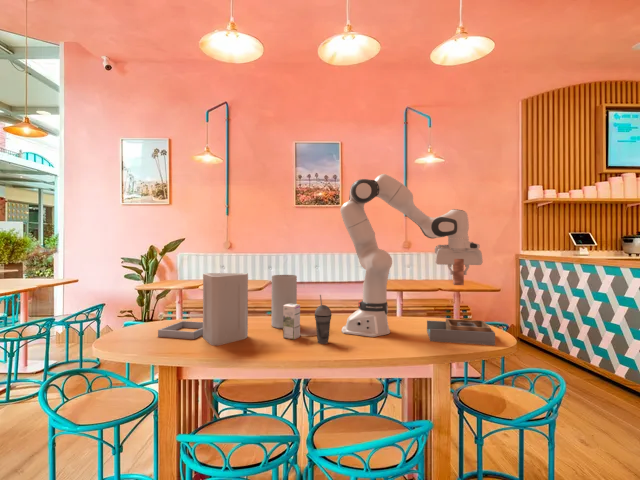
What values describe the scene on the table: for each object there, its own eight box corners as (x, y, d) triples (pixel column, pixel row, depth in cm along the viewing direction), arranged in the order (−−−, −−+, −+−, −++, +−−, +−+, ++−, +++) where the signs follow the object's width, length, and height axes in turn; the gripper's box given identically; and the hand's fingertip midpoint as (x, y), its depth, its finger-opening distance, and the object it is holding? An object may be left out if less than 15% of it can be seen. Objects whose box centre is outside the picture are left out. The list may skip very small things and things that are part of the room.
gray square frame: (158, 336, 152) (158, 329, 152) (182, 326, 170) (182, 320, 170) (193, 339, 149) (193, 332, 149) (214, 329, 166) (214, 322, 166)
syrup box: (300, 336, 154) (300, 303, 154) (294, 339, 148) (294, 306, 148) (289, 334, 156) (289, 302, 156) (282, 338, 151) (282, 305, 151)
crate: (450, 338, 147) (450, 326, 147) (445, 330, 161) (445, 318, 161) (490, 341, 143) (490, 328, 143) (482, 332, 157) (482, 320, 157)
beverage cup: (330, 345, 141) (330, 296, 141) (312, 344, 142) (312, 295, 142) (332, 340, 148) (333, 293, 148) (316, 339, 149) (316, 293, 149)
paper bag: (192, 344, 141) (192, 276, 141) (206, 334, 156) (207, 272, 156) (237, 346, 139) (238, 276, 140) (248, 335, 154) (248, 273, 154)
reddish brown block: (454, 285, 158) (454, 258, 158) (452, 284, 162) (452, 258, 162) (463, 285, 157) (463, 258, 157) (462, 284, 161) (462, 258, 161)
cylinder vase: (295, 329, 167) (295, 277, 167) (269, 328, 167) (269, 277, 167) (297, 322, 179) (297, 274, 179) (273, 322, 179) (273, 274, 179)
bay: (430, 341, 147) (430, 329, 147) (426, 330, 164) (426, 320, 164) (495, 345, 141) (495, 333, 141) (484, 334, 158) (485, 323, 158)
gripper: (435, 244, 158) (435, 274, 158) (483, 244, 154) (483, 275, 154) (434, 244, 164) (434, 273, 164) (480, 244, 160) (480, 274, 160)
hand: (458, 274), depth 159 cm, fingers closed on reddish brown block, 4 cm apart
